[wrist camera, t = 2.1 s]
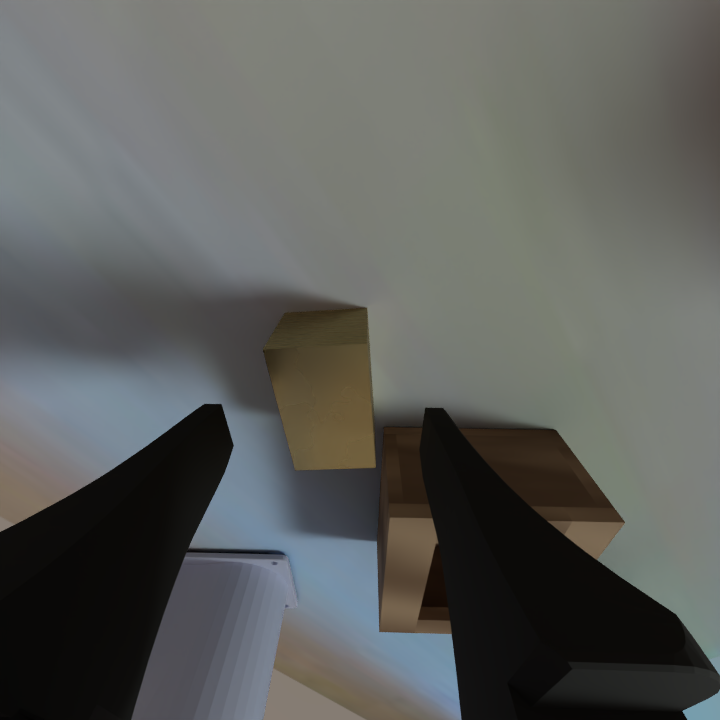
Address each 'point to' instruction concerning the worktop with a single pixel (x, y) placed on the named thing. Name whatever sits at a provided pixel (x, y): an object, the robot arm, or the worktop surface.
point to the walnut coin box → (416, 528)
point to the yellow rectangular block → (324, 387)
